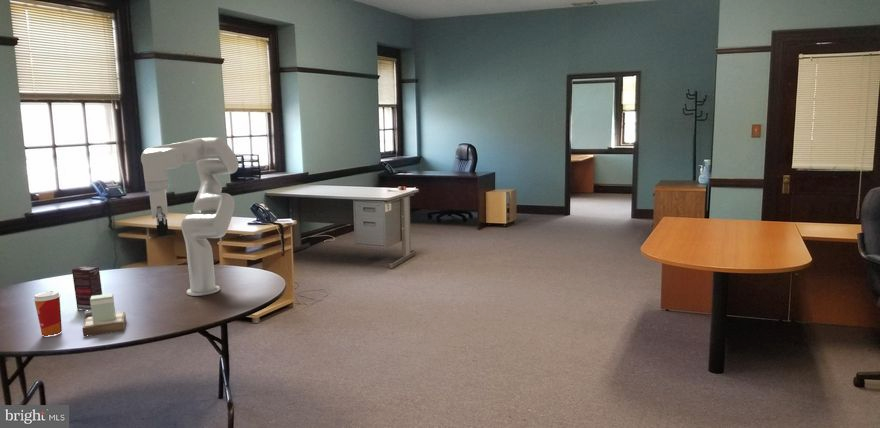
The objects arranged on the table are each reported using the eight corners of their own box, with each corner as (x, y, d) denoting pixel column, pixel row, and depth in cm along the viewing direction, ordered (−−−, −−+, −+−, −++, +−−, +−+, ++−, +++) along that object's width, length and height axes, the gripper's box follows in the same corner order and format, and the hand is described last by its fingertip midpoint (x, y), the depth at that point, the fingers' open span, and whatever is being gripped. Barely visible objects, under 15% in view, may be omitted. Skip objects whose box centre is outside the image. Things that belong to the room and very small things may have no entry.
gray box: (85, 321, 224) (84, 310, 223) (107, 317, 227) (106, 306, 227) (86, 324, 220) (85, 313, 220) (108, 320, 224) (107, 309, 223)
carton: (94, 318, 215) (91, 295, 214) (115, 315, 218) (113, 293, 217) (92, 322, 211) (89, 299, 210) (114, 319, 214) (112, 296, 212)
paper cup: (46, 331, 214) (40, 291, 212) (69, 329, 215) (64, 289, 212) (33, 339, 206) (27, 297, 204) (58, 337, 207) (52, 296, 205)
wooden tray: (87, 325, 218) (86, 316, 218) (126, 320, 223) (125, 311, 222) (83, 336, 207) (82, 327, 207) (124, 330, 212) (123, 321, 211)
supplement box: (104, 308, 239) (99, 267, 236) (94, 312, 234) (88, 270, 231) (87, 306, 241) (82, 265, 239) (76, 310, 237) (71, 269, 234)
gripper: (146, 183, 231) (152, 229, 234) (144, 190, 215) (150, 239, 218) (168, 181, 234) (174, 227, 237) (168, 187, 218) (174, 236, 221)
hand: (163, 232), depth 228 cm, fingers open, 9 cm apart
